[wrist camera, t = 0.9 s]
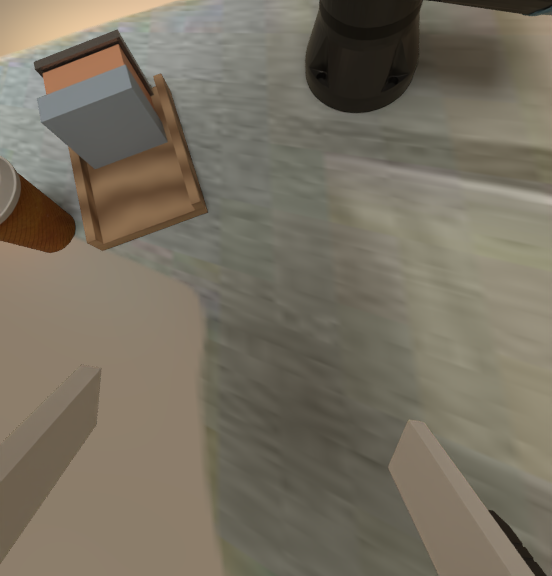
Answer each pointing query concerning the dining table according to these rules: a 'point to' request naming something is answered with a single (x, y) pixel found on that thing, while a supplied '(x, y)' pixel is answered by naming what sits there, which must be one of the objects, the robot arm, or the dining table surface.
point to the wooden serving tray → (140, 185)
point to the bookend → (89, 49)
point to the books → (100, 108)
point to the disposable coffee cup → (31, 214)
